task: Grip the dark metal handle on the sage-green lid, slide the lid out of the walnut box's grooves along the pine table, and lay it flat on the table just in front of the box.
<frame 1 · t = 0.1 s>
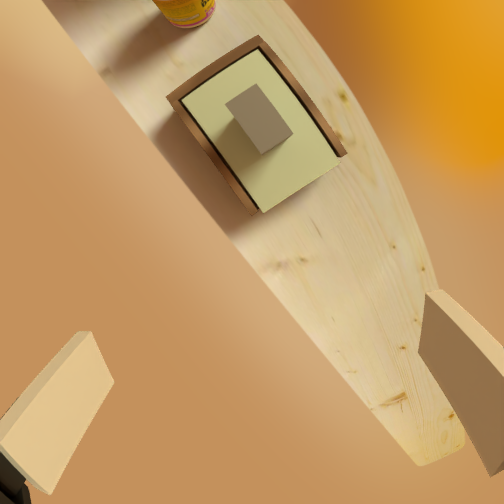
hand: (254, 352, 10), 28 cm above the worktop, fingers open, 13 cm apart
box: (256, 125, 34), on the worktop
lid: (261, 129, 30), point 4 cm above the worktop, touching box
supplement bottle: (192, 10, 29), on the worktop
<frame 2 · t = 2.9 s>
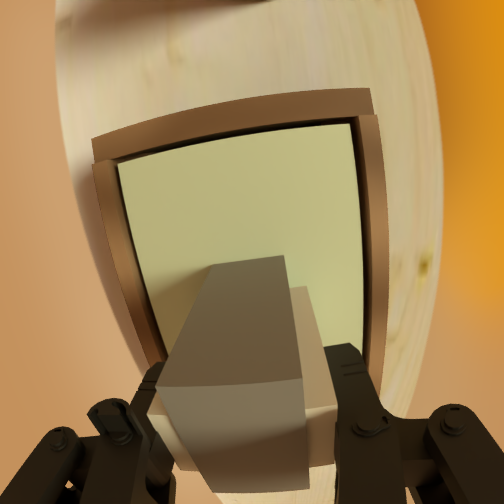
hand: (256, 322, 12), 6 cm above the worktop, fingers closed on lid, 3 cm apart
box: (257, 253, 18), on the worktop
lid: (257, 297, 15), point 4 cm above the worktop, touching box, gripper
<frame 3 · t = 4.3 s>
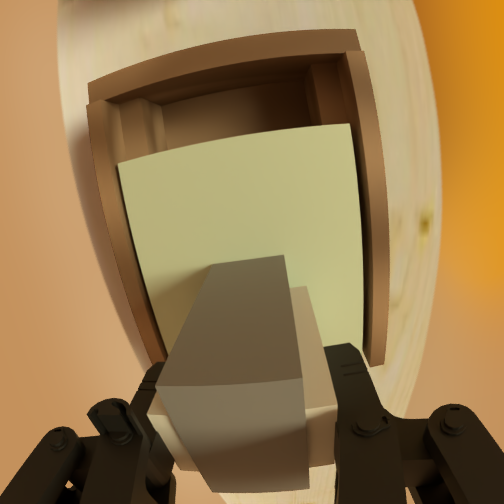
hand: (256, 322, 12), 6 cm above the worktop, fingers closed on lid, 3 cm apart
box: (251, 206, 18), on the worktop
lid: (257, 297, 15), point 4 cm above the worktop, touching gripper
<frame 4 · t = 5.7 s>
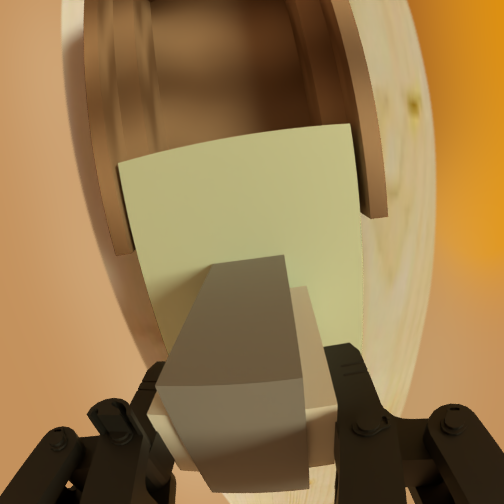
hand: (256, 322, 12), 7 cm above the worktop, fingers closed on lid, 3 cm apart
box: (230, 79, 15), on the worktop
lid: (257, 297, 15), point 4 cm above the worktop, touching gripper
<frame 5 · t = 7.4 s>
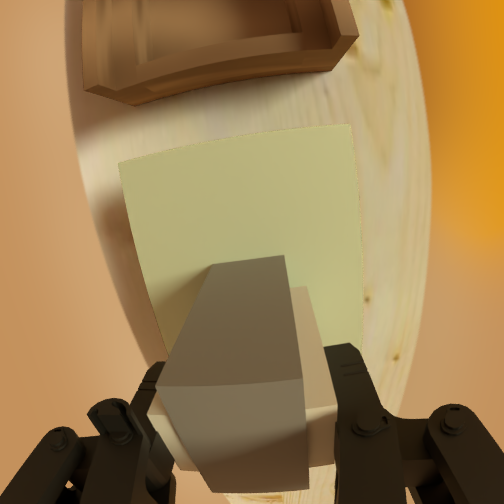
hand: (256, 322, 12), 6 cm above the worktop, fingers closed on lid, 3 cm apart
lid: (257, 297, 15), point 4 cm above the worktop, touching gripper
when the fingers open (4 cm above the worktop, at t = 8.9 s): lid drops 2 cm, on the worktop.
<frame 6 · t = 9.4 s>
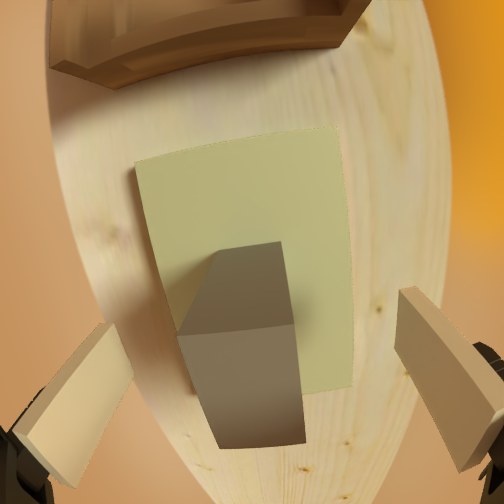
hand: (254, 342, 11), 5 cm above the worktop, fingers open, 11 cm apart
lid: (258, 281, 17), on the worktop
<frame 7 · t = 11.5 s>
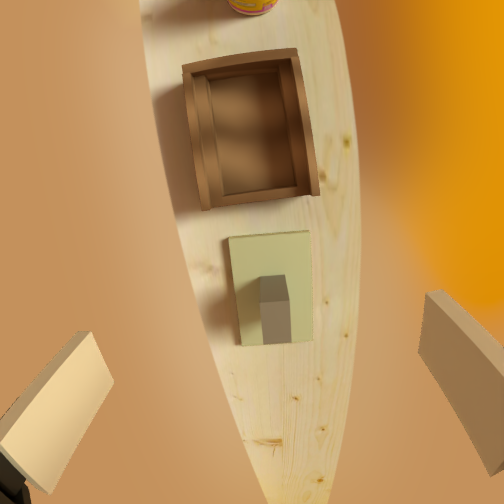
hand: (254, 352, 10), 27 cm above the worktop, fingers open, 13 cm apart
box: (251, 130, 33), on the worktop
lid: (273, 289, 39), on the worktop
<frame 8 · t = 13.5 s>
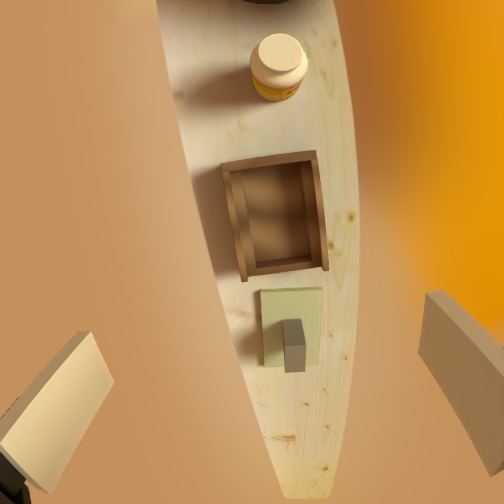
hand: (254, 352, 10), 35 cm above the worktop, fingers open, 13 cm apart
box: (276, 210, 44), on the worktop
lid: (291, 327, 50), on the worktop
supplement bottle: (276, 81, 38), on the worktop
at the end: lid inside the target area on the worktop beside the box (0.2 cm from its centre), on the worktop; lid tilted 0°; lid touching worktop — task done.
